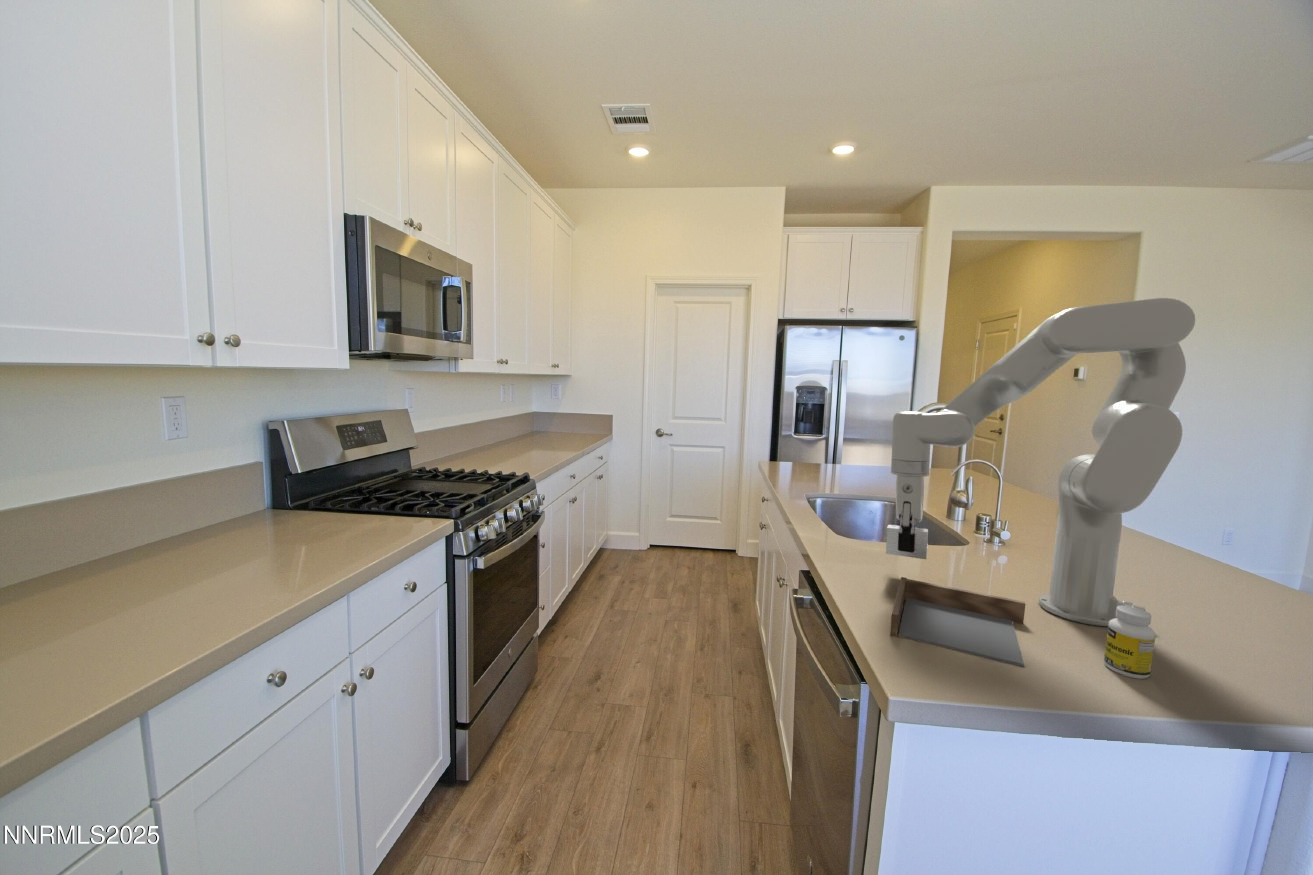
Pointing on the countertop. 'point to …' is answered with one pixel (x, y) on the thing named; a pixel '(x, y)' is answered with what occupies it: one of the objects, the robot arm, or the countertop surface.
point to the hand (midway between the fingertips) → (906, 548)
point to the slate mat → (961, 631)
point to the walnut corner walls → (955, 601)
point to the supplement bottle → (1130, 643)
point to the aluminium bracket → (919, 546)
